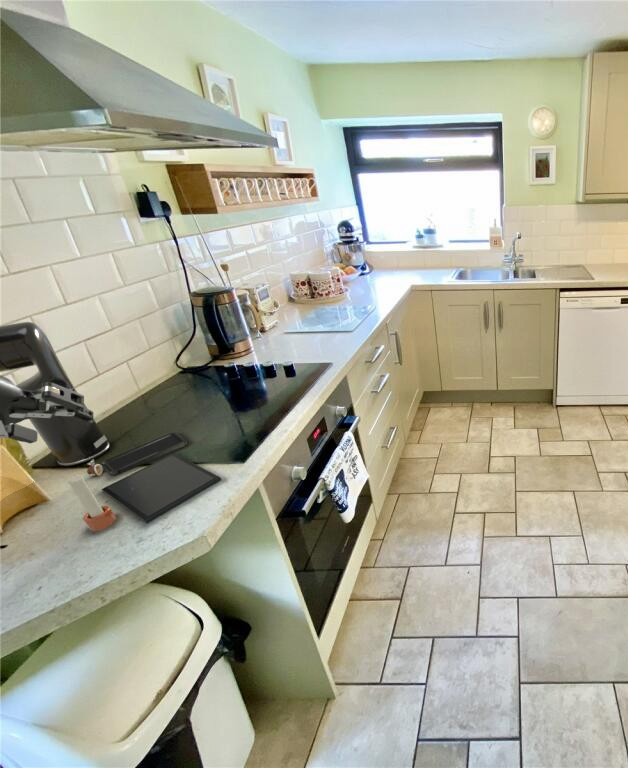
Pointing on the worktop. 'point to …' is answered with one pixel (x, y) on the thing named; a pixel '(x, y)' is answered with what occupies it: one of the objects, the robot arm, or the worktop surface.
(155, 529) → the worktop surface
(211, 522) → the worktop surface
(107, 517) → the orange hollow cylinder
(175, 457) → the tablet
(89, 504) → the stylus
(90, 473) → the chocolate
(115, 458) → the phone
